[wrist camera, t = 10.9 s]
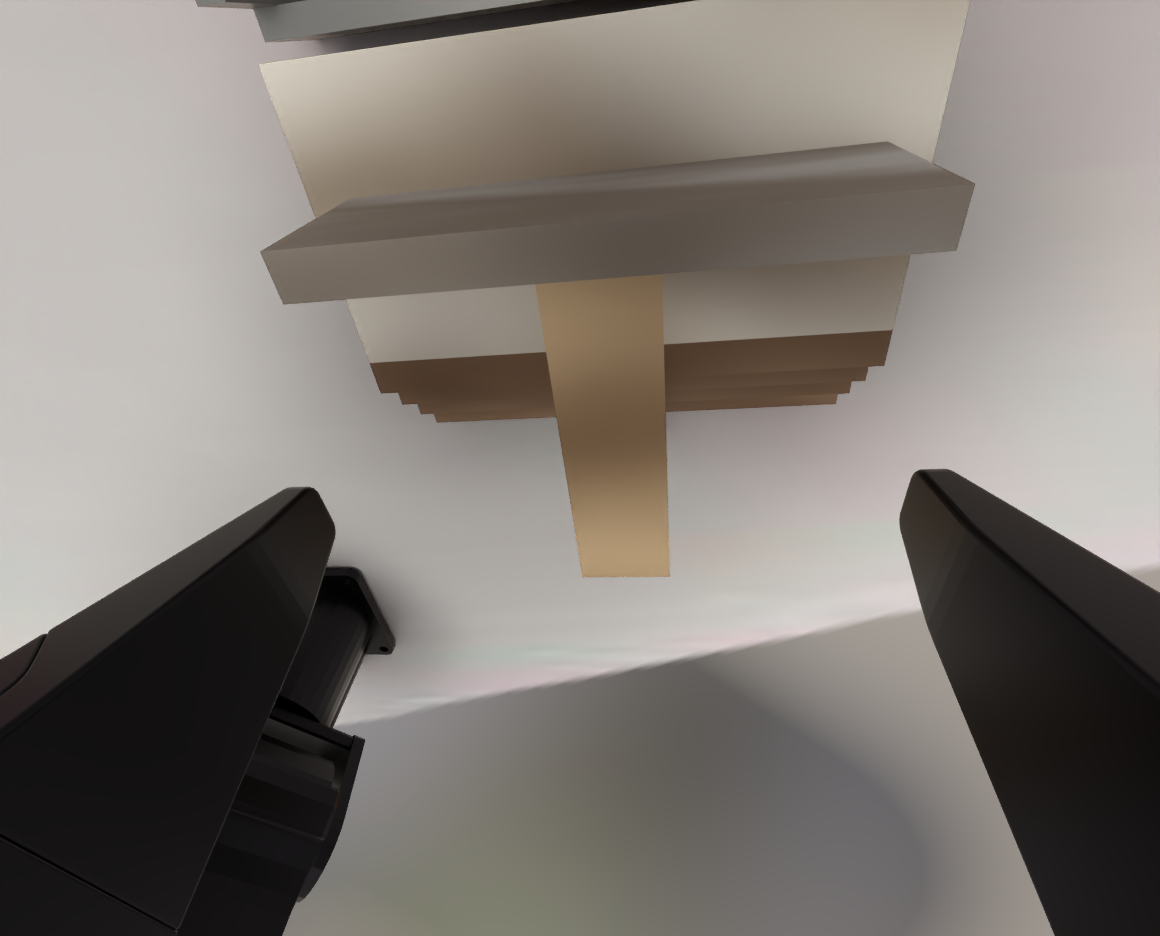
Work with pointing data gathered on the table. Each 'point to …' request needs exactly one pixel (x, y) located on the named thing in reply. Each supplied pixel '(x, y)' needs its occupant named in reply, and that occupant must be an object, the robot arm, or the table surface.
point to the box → (359, 14)
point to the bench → (616, 142)
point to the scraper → (622, 284)
